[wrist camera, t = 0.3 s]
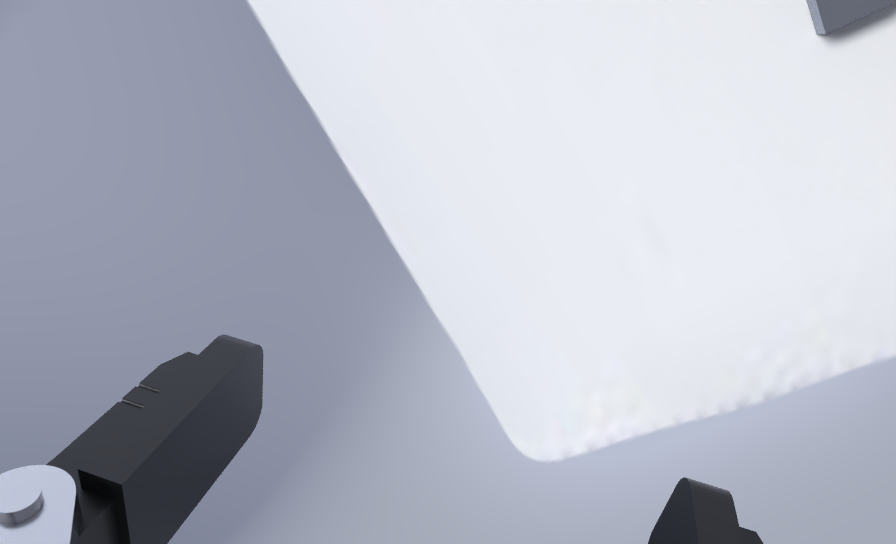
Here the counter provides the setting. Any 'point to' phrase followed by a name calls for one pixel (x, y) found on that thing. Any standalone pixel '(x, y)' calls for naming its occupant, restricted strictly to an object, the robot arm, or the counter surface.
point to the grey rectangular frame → (841, 12)
